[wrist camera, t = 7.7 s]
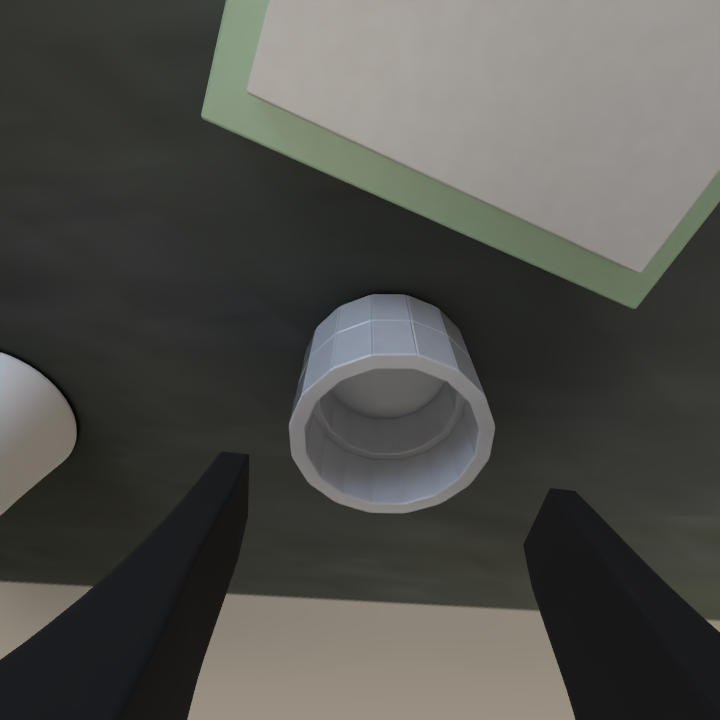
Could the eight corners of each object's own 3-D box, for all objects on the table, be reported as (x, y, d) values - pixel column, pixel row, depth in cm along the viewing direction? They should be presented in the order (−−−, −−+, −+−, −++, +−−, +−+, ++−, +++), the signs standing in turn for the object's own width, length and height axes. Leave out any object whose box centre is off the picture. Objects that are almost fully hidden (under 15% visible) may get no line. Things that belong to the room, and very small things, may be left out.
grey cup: (493, 324, 16) (535, 398, 12) (420, 441, 19) (434, 533, 15) (341, 262, 15) (332, 322, 11) (286, 395, 18) (263, 481, 14)
